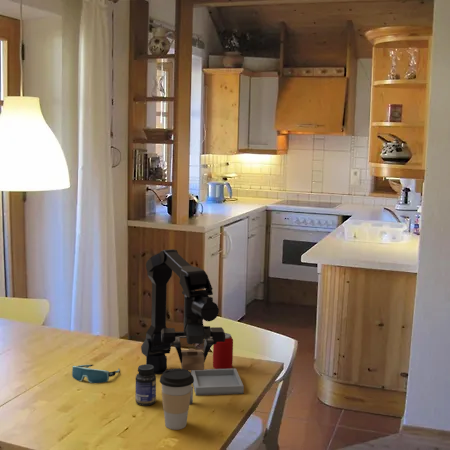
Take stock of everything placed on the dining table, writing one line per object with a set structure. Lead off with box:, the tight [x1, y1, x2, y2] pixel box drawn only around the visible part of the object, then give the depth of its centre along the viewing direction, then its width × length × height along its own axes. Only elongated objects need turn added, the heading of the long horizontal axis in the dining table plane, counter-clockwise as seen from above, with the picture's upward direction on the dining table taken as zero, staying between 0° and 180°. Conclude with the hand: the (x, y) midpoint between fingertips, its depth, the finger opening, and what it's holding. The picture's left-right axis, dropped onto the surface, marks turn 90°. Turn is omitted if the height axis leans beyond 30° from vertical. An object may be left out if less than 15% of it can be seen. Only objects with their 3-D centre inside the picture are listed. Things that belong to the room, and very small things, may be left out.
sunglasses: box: [71, 364, 120, 384], centre depth 214 cm, size 14×15×5 cm
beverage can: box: [212, 332, 234, 369], centre depth 222 cm, size 7×7×12 cm
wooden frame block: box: [180, 348, 205, 371], centre depth 194 cm, size 6×8×4 cm
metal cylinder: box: [189, 385, 194, 406], centre depth 194 cm, size 2×2×5 cm
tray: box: [190, 368, 245, 396], centre depth 208 cm, size 15×15×2 cm
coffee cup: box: [159, 367, 194, 431], centre depth 179 cm, size 9×9×15 cm
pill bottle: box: [135, 363, 157, 407], centre depth 193 cm, size 6×6×11 cm
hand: (192, 362), depth 194 cm, fingers closed on wooden frame block, 6 cm apart
